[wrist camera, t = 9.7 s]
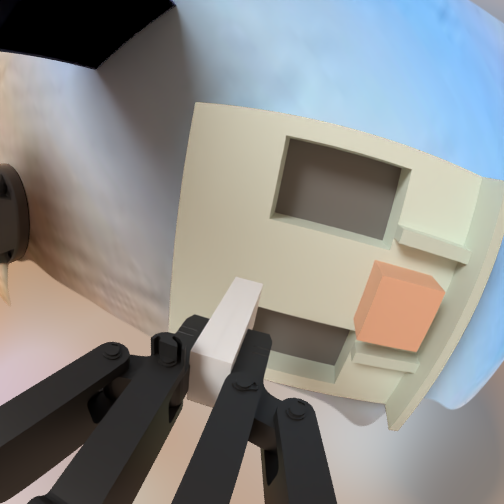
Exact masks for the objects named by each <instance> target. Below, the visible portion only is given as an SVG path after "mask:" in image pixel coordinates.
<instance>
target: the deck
mask: <svg viewBox="0 0 504 504" xmlns="http://www.w3.org/2000/svg"><path fill="white" fill-rule="evenodd" d="M503 236H504V181H502V180H497V179H492V178H486V177H481V176H479V175H477V174H475V173H473V172H471V171H469V170H466V169H464V168H462V167H460V166H457V165H455V164H453V163H450V162H448V161H446V160H443V159H441V158H438V157H436V156H433V155H431V154H428V153H425V152H423V151H420V150H417V149H415V148H412V147H409V146H406V145H403V144H400V143H397V142H394V141H391V140H388V139H385V138H382V137H379V136H376V135H372V134H369V133H365V132H362V131H358V130H355V129H351V128H347V127H344V126H340V125H336V124H332V123H327V122H323V121H319V120H314V119H310V118H305V117H300V116H295V115H290V114H285V113H279V112H274V111H268V110H261V109H255V108H248V107H240V106H232V105H223V104H213V103H202V102H195V107H194V112H193V118H192V123H191V129H190V134H189V140H188V146H187V152H186V158H185V164H184V171H183V178H182V185H181V192H180V200H179V208H178V216H177V225H176V234H175V244H174V254H173V266H172V278H171V292H170V309H169V330H168V332H169V333H174V334H175V333H176V332H177V331H178V329H179V328H180V326H181V325H182V324H183V322H184V321H185V320H186V318H188V317H190V316H192V315H194V314H196V315H199V316H202V317H206V318H209V319H210V318H211V316H212V315H213V313H214V312H215V310H216V308H217V307H218V305H219V303H220V302H221V300H222V299H223V297H224V295H225V294H226V292H227V290H228V289H229V287H230V286H231V284H232V282H233V281H234V279H235V278H236V277H239V278H243V279H247V280H250V281H254V282H258V283H262V284H263V287H262V292H261V296H260V300H259V305H258V309H257V313H256V318H255V322H254V326H253V329H252V330H255V331H259V332H263V333H267V334H270V337H271V339H272V346H271V350H270V355H269V359H268V363H267V367H266V371H265V375H264V380H268V381H272V382H276V383H280V384H284V385H288V386H292V387H296V388H300V389H305V390H309V391H314V392H319V393H323V394H328V395H333V396H339V397H344V398H350V399H356V400H362V401H368V402H375V403H382V404H385V408H386V414H387V420H388V428H389V430H394V431H398V430H399V429H400V428H401V426H402V425H403V424H404V423H405V421H406V420H407V419H408V418H409V416H410V415H411V414H412V413H413V411H414V410H415V409H416V407H417V406H418V404H419V403H420V402H421V400H422V399H423V398H424V396H425V395H426V393H427V392H428V390H429V389H430V388H431V386H432V385H433V383H434V382H435V380H436V379H437V377H438V375H439V374H440V372H441V371H442V369H443V368H444V366H445V364H446V363H447V361H448V359H449V358H450V356H451V354H452V353H453V351H454V349H455V347H456V346H457V344H458V342H459V340H460V338H461V336H462V335H463V333H464V331H465V329H466V327H467V325H468V323H469V321H470V319H471V317H472V315H473V313H474V311H475V309H476V306H477V304H478V302H479V300H480V298H481V295H482V293H483V291H484V288H485V286H486V283H487V281H488V278H489V276H490V273H491V271H492V268H493V265H494V263H495V260H496V257H497V254H498V251H499V248H500V245H501V242H502V239H503ZM375 260H378V261H381V262H385V263H389V264H392V265H396V266H399V267H403V268H406V269H410V270H414V271H417V272H421V273H424V274H428V275H431V276H433V278H434V279H435V280H436V281H437V282H438V284H439V285H440V286H441V287H442V288H443V290H444V291H445V292H446V293H445V295H444V297H443V300H442V302H441V304H440V306H439V309H438V311H437V313H436V315H435V317H434V319H433V321H432V323H431V325H430V327H429V329H428V331H427V333H426V335H425V337H424V339H423V341H422V343H421V345H420V347H419V348H418V350H417V352H413V351H408V350H403V349H397V348H392V347H387V346H382V345H378V344H373V343H368V342H363V341H359V340H357V339H356V332H355V326H354V320H353V318H354V316H355V313H356V310H357V308H358V305H359V303H360V300H361V297H362V295H363V292H364V289H365V287H366V284H367V281H368V278H369V275H370V273H371V270H372V267H373V264H374V261H375Z"/></svg>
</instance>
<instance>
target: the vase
mask: <svg viewBox="0 0 504 504" xmlns="http://www.w3.org/2000/svg"><path fill="white" fill-rule="evenodd" d="M175 6H176V5H175V3H174V2H173V0H0V51H1V52H9V53H17V54H23V55H30V56H35V57H41V58H46V59H51V60H56V61H61V62H66V63H70V64H74V65H78V66H83V67H87V68H90V69H94V70H97V69H98V68H99V67H100V66H101V65H102V64H103V63H104V62H105V61H106V60H107V59H108V58H109V57H110V56H111V55H113V54H114V53H115V52H116V51H117V50H118V49H119V48H120V47H122V46H123V45H124V44H125V43H126V42H128V41H129V40H130V39H131V38H132V37H134V36H135V35H136V34H137V33H139V32H140V31H141V30H142V29H144V28H145V27H146V26H148V25H149V24H150V23H152V22H153V21H154V20H156V19H157V18H159V17H160V16H161V15H163V14H164V13H166V12H167V11H169V10H170V9H172V8H173V7H175Z"/></svg>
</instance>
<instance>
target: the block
mask: <svg viewBox="0 0 504 504" xmlns="http://www.w3.org/2000/svg"><path fill="white" fill-rule="evenodd" d="M445 293H446V292H445V291H444V290H443V288H442V287H441V286H440V285H439V284H438V282H437V281H436V280H435V279H434V278H433V276H431V275H428V274H424V273H421V272H417V271H414V270H410V269H406V268H403V267H399V266H396V265H392V264H389V263H385V262H381V261H378V260H375V261H374V264H373V267H372V270H371V273H370V275H369V278H368V281H367V284H366V287H365V289H364V292H363V295H362V297H361V300H360V303H359V305H358V308H357V310H356V313H355V316H354V318H353V320H354V326H355V332H356V339H357V340H359V341H363V342H368V343H373V344H378V345H382V346H387V347H392V348H397V349H403V350H408V351H413V352H417V350H418V348H419V347H420V345H421V343H422V341H423V339H424V337H425V335H426V333H427V331H428V329H429V327H430V325H431V323H432V321H433V319H434V317H435V315H436V313H437V311H438V309H439V306H440V304H441V302H442V300H443V297H444V295H445Z"/></svg>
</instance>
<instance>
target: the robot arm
mask: <svg viewBox="0 0 504 504" xmlns="http://www.w3.org/2000/svg"><path fill="white" fill-rule="evenodd" d="M28 238H29V215H28V207H27V201H26V196H25V192H24V189H23V186H22V183H21V180H20V178H19V176H18V174H17V172H16V171H15V170H14V168H13V167H12V166H10V165H9V164H0V264H9V263H11V262H14V261H16V260H18V259H20V258H21V257H22V256H23V255H24V253H25V251H26V248H27V244H28ZM262 287H263V284H262V283H258V282H254V281H250V280H247V279H243V278H239V277H236V278H235V279H234V281H233V282H232V284H231V286H230V287H229V289H228V290H227V292H226V294H225V295H224V297H223V299H222V300H221V302H220V303H219V305H218V307H217V308H216V310H215V312H214V313H213V315H212V316H211V318H210V319H209V318H206V317H202V316H199V315H196V314H194V315H192V316H190V317H188V318H186V320H185V321H184V322H183V324H182V325H181V326H180V328H179V329H178V331H177V332H176V333H175V334H174V333H169V332H162V333H158V334H155V335H154V336H153V337H151V356H147V357H145V356H136V355H130V354H129V351H128V349H127V348H126V347H125V346H124V345H122V344H120V343H116V342H107V343H104V344H102V345H100V346H98V347H97V348H95V349H93V350H92V351H90V352H89V353H87V354H85V355H84V356H82V357H80V358H79V359H77V360H75V361H74V362H72V363H71V364H69V365H67V366H65V367H64V368H62V369H61V370H59V371H57V372H56V373H54V374H52V375H51V376H49V377H47V378H46V379H44V380H42V381H41V382H39V383H38V384H36V385H34V386H33V387H31V388H29V389H28V390H26V391H24V392H23V393H21V394H20V395H18V396H16V397H15V398H13V399H11V400H10V401H8V402H6V403H5V404H3V405H1V406H0V503H3V502H5V501H7V500H8V499H10V498H12V497H13V496H15V495H16V494H17V493H19V492H20V491H22V490H23V489H25V488H26V487H27V486H29V485H30V484H31V483H33V482H34V481H35V480H37V479H38V478H40V477H41V476H42V475H44V474H45V473H46V472H47V471H49V470H50V469H51V468H53V467H54V466H56V465H57V464H58V463H60V462H61V461H62V460H63V459H65V458H66V457H67V456H69V455H70V454H71V453H73V452H74V451H75V450H77V449H78V448H79V447H80V446H82V445H83V446H82V447H81V449H80V450H79V451H78V453H77V454H76V455H75V457H74V458H73V459H72V461H71V462H70V464H69V465H68V466H67V468H66V469H65V470H64V472H63V473H62V475H61V476H60V477H59V479H58V480H57V482H56V483H55V484H54V486H53V487H52V489H51V490H50V491H49V492H48V493H47V494H46V495H43V496H37V497H34V498H33V499H31V500H30V501H29V502H28V503H27V504H132V503H133V501H134V499H135V497H136V495H137V493H138V492H139V490H140V488H141V486H142V484H143V482H144V480H145V478H146V477H147V475H148V473H149V471H150V469H151V467H152V465H153V463H154V461H155V459H156V458H157V456H158V454H159V452H160V450H161V448H162V446H163V444H164V442H165V440H166V439H167V437H168V435H169V433H170V431H171V429H172V427H173V425H174V423H175V421H176V419H177V417H178V416H179V413H180V411H181V410H182V406H183V399H184V397H185V395H186V394H187V399H188V400H191V401H194V402H197V403H200V404H203V405H206V406H209V407H212V408H213V409H212V412H211V414H210V416H209V419H208V421H207V423H206V426H205V428H204V431H203V433H202V435H201V438H200V440H199V442H198V444H197V447H196V449H195V451H194V454H193V456H192V458H191V460H190V463H189V465H188V467H187V470H186V472H185V474H184V476H183V479H182V481H181V483H180V485H179V488H178V490H177V492H176V494H175V497H174V499H173V501H172V503H171V504H229V503H230V499H231V496H232V493H233V490H234V487H235V483H236V480H237V477H238V473H239V470H240V466H241V463H242V459H243V456H244V453H245V449H246V445H247V442H248V441H249V442H251V443H253V444H255V445H257V446H258V447H260V448H261V460H262V474H263V486H264V498H265V504H337V501H336V497H335V493H334V488H333V484H332V480H331V476H330V471H329V467H328V463H327V459H326V455H325V451H324V447H323V443H322V439H321V435H320V430H319V426H318V422H317V418H316V414H315V411H314V409H313V407H312V406H311V405H310V404H309V403H308V402H306V401H304V400H302V399H297V398H288V399H285V400H283V401H281V400H279V399H277V398H275V397H274V396H272V395H270V394H269V393H268V392H267V390H266V389H265V387H264V384H263V379H264V375H265V371H266V367H267V363H268V359H269V355H270V350H271V346H272V339H271V337H270V334H267V333H263V332H259V331H255V330H252V329H253V326H254V322H255V318H256V313H257V309H258V305H259V300H260V296H261V292H262Z"/></svg>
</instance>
